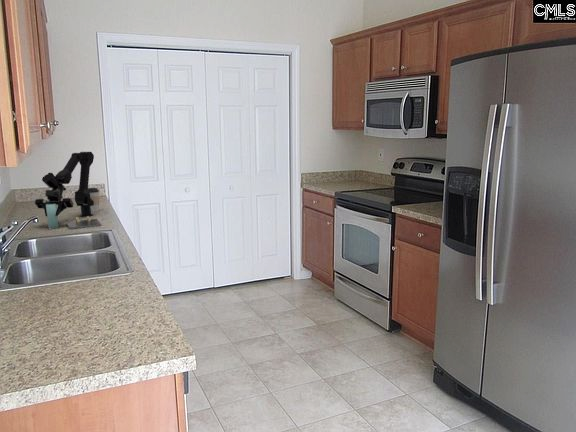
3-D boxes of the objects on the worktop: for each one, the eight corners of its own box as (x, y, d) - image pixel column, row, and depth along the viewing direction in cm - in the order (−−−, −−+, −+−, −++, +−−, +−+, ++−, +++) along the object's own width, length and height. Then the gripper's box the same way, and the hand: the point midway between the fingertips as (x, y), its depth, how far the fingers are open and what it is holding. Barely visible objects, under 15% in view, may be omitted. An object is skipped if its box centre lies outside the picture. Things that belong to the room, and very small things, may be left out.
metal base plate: (66, 224, 265) (65, 216, 264) (96, 220, 272) (96, 213, 272) (69, 229, 251) (68, 221, 250) (101, 225, 259) (100, 218, 258)
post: (48, 227, 257) (45, 204, 255) (58, 226, 260) (55, 203, 257) (48, 229, 253) (46, 205, 251) (59, 227, 256) (56, 204, 253)
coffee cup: (86, 210, 306) (83, 187, 303) (101, 209, 309) (98, 186, 306) (85, 212, 298) (83, 189, 295) (100, 211, 301) (98, 188, 298)
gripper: (33, 184, 255) (27, 208, 246) (69, 183, 256) (63, 207, 248) (41, 196, 264) (35, 219, 256) (75, 195, 266) (70, 218, 257)
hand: (51, 215), depth 254 cm, fingers closed on post, 5 cm apart
